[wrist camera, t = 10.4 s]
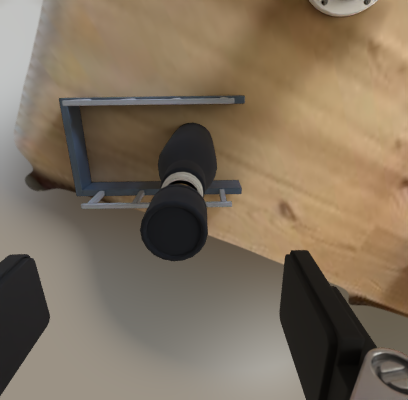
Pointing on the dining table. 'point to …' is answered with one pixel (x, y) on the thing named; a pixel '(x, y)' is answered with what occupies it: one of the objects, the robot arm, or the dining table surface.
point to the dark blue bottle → (181, 195)
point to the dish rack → (140, 189)
